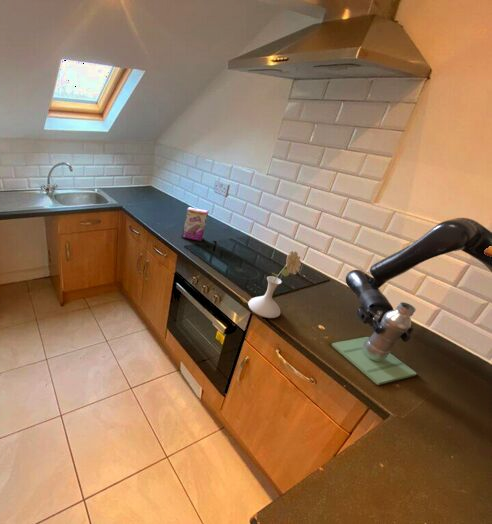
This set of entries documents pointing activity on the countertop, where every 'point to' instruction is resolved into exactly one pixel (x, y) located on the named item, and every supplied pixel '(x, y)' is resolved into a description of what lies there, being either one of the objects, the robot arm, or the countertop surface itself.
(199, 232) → the pink beige food bag
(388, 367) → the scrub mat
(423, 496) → the countertop surface
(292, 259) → the flower in vase
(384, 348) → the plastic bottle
